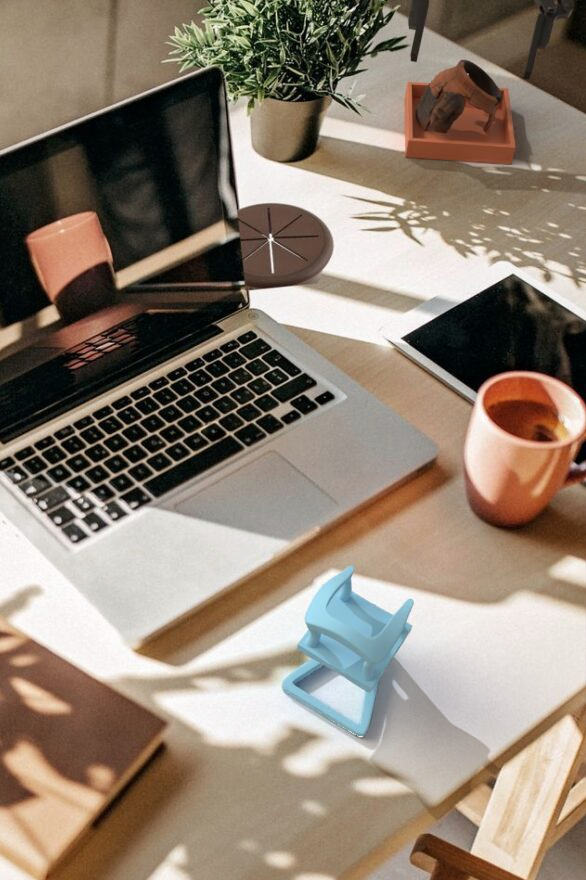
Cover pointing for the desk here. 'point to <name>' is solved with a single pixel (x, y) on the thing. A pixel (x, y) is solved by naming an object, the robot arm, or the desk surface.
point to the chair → (348, 644)
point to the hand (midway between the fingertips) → (469, 67)
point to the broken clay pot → (457, 96)
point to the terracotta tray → (460, 132)
